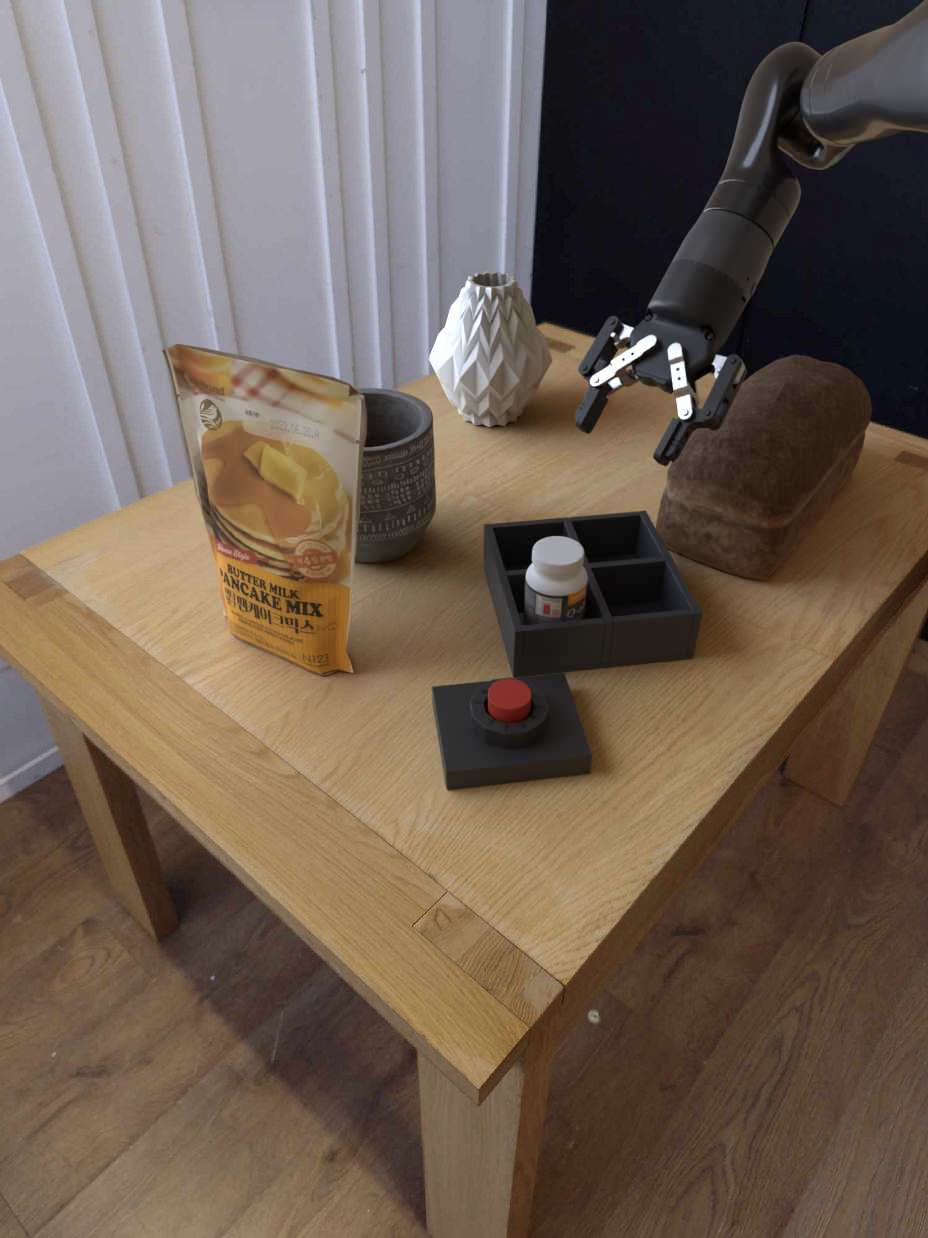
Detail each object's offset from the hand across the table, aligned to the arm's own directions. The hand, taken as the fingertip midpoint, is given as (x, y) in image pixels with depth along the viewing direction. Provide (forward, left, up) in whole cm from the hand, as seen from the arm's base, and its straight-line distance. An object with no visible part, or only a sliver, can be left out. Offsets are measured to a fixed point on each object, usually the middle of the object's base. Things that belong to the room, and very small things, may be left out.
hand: (619, 445), depth 79 cm
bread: (-23, -15, -18) cm, 33 cm away
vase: (+4, -43, -18) cm, 47 cm away
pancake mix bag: (+31, +1, -18) cm, 36 cm away
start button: (+13, +17, -15) cm, 25 cm away
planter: (+22, -15, -18) cm, 33 cm away
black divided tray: (+2, +1, -18) cm, 18 cm away
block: (+13, +17, -18) cm, 28 cm away
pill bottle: (+6, +5, -18) cm, 19 cm away
